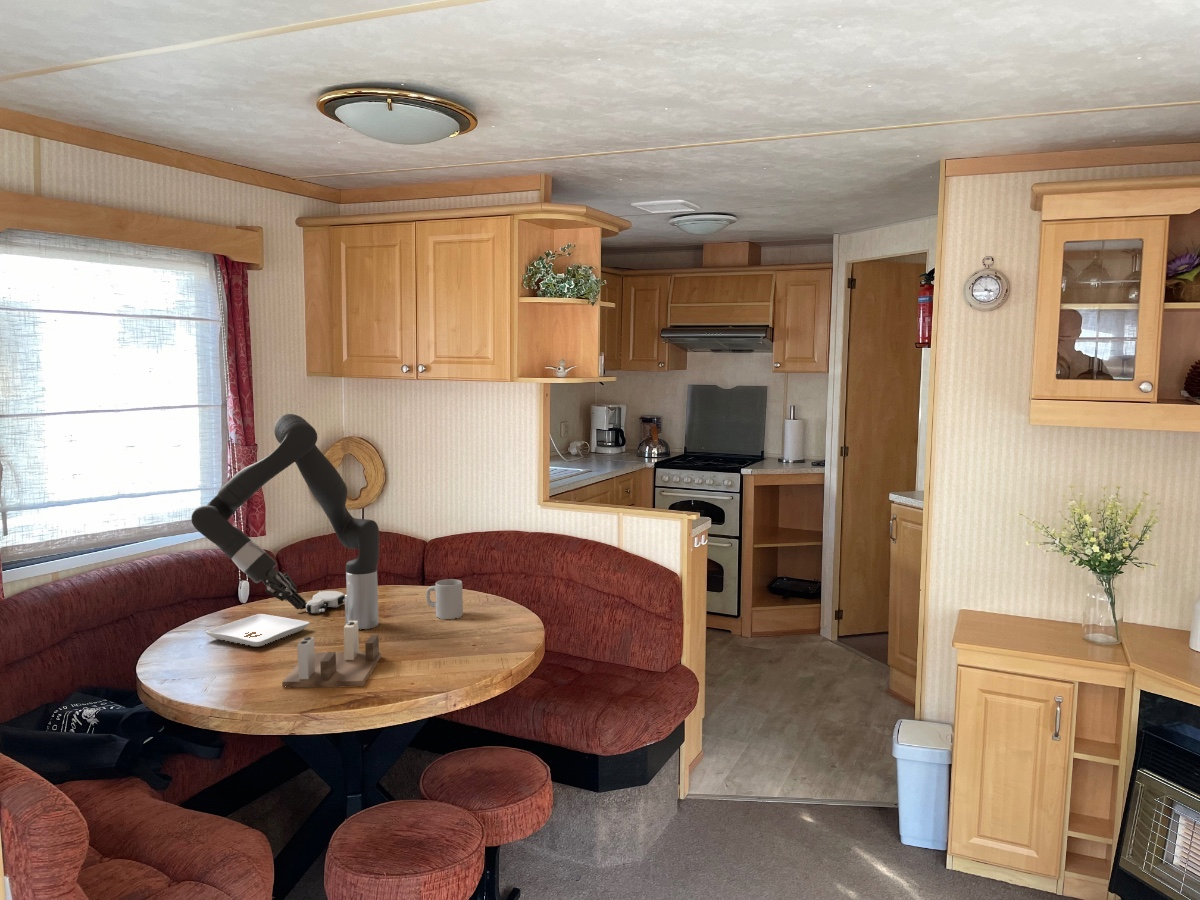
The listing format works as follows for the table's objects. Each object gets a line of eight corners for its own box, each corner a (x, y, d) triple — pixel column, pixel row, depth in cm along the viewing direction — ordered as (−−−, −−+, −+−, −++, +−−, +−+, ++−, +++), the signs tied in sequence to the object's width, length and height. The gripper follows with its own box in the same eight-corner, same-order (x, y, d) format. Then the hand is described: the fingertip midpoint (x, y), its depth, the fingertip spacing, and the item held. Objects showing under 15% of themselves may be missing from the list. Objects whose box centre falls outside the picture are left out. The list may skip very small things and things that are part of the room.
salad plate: (312, 631, 271) (311, 620, 270) (258, 652, 252) (257, 641, 251) (259, 623, 280) (259, 612, 279) (204, 642, 260) (203, 631, 260)
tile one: (344, 660, 239) (343, 626, 238) (350, 652, 245) (349, 619, 244) (353, 660, 239) (352, 626, 238) (358, 652, 245) (357, 619, 244)
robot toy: (324, 620, 285) (352, 604, 298) (323, 606, 284) (351, 591, 298) (292, 616, 289) (322, 601, 303) (291, 602, 288) (321, 588, 302)
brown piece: (282, 687, 224) (281, 662, 224) (308, 657, 246) (307, 634, 245) (362, 686, 225) (361, 661, 224) (381, 657, 247) (380, 634, 246)
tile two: (298, 679, 225) (297, 643, 224) (305, 671, 231) (304, 636, 230) (308, 679, 225) (307, 643, 224) (315, 670, 231) (313, 635, 230)
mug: (467, 613, 289) (466, 579, 288) (456, 620, 281) (456, 586, 279) (432, 610, 292) (431, 577, 290) (421, 618, 283) (420, 584, 282)
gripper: (254, 557, 232) (304, 603, 233) (272, 546, 245) (319, 589, 247) (235, 577, 232) (284, 623, 234) (253, 565, 246) (300, 608, 247)
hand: (302, 605), depth 240 cm, fingers closed
